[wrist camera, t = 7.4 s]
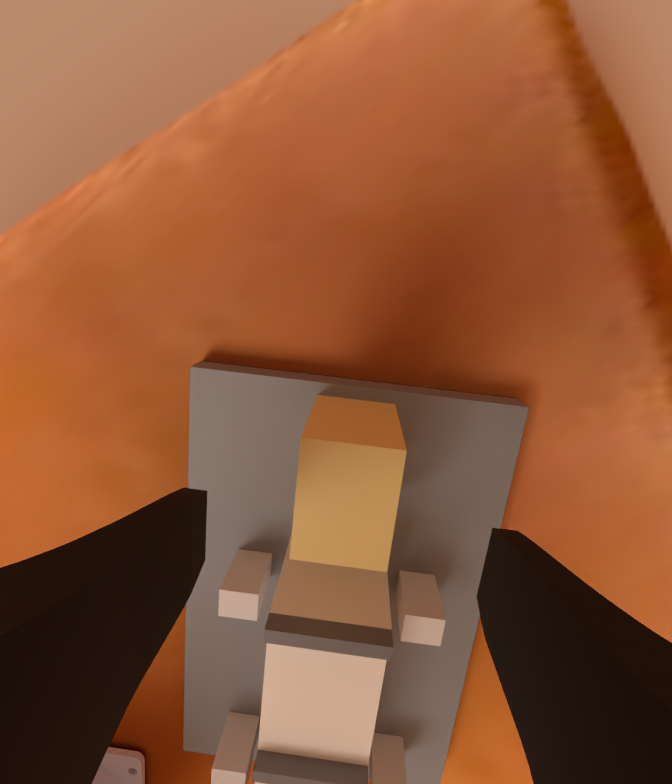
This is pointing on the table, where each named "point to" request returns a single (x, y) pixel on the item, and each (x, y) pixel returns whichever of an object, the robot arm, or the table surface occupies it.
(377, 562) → the tan rectangular block
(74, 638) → the robot arm
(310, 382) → the jig
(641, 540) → the table surface
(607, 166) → the table surface
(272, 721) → the cream rectangular block
